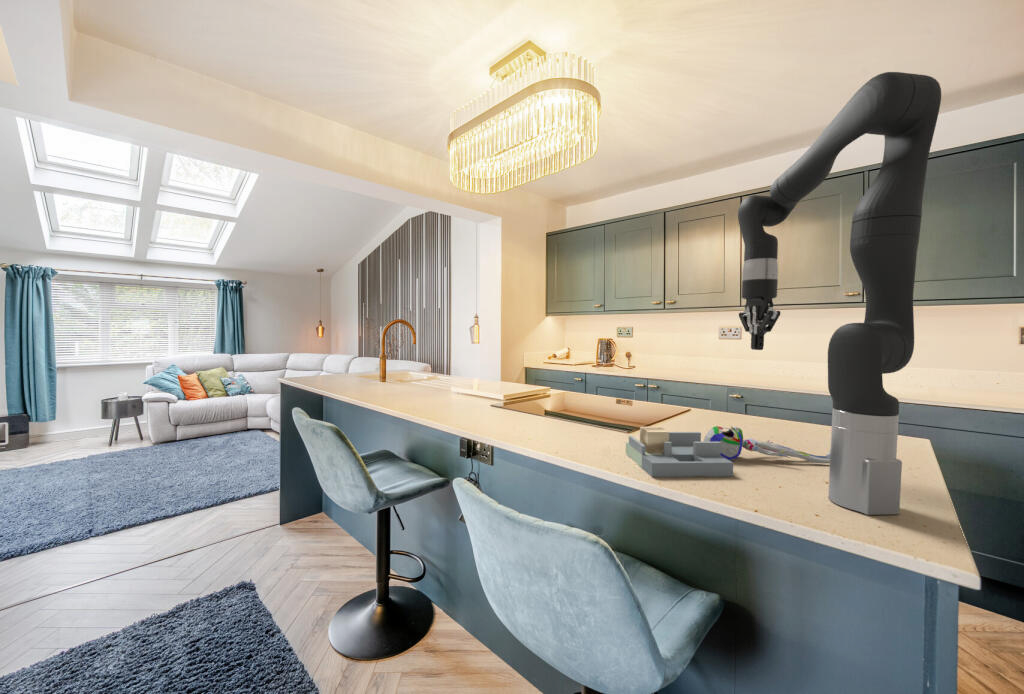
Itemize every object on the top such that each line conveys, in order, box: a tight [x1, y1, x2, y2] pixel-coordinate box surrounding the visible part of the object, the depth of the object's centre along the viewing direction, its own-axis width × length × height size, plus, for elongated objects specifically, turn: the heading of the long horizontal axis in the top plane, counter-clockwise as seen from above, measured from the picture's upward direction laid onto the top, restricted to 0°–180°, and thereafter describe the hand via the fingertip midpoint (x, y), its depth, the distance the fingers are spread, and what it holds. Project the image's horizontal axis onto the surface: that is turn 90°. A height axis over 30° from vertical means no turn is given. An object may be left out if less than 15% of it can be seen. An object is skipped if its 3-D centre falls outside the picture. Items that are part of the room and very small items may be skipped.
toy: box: [702, 425, 831, 464], centre depth 103 cm, size 10×8×30 cm
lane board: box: [625, 431, 734, 478], centre depth 99 cm, size 17×18×6 cm
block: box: [639, 426, 670, 453], centre depth 100 cm, size 5×5×5 cm
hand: (756, 349), depth 104 cm, fingers closed
